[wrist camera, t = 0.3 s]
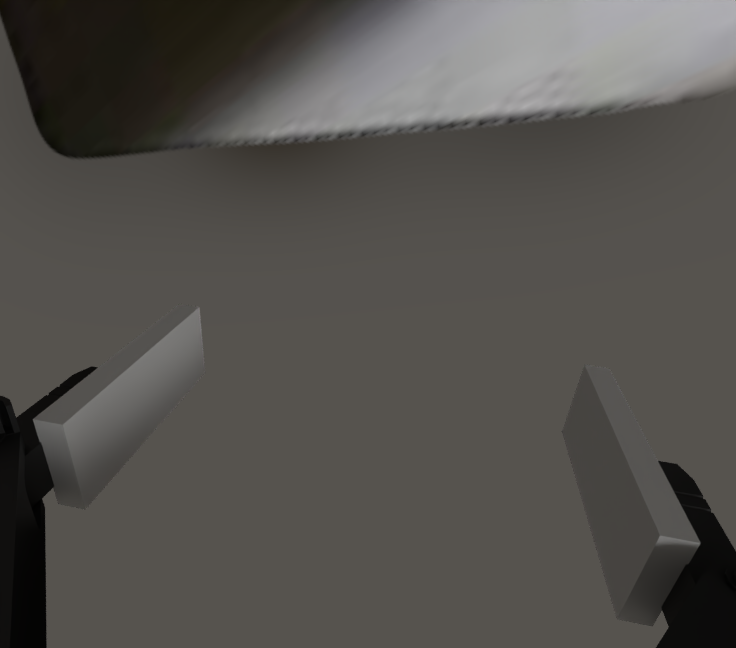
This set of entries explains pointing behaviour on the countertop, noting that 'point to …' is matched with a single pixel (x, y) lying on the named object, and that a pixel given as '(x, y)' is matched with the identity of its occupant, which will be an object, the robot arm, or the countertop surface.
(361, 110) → the countertop surface
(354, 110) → the countertop surface
